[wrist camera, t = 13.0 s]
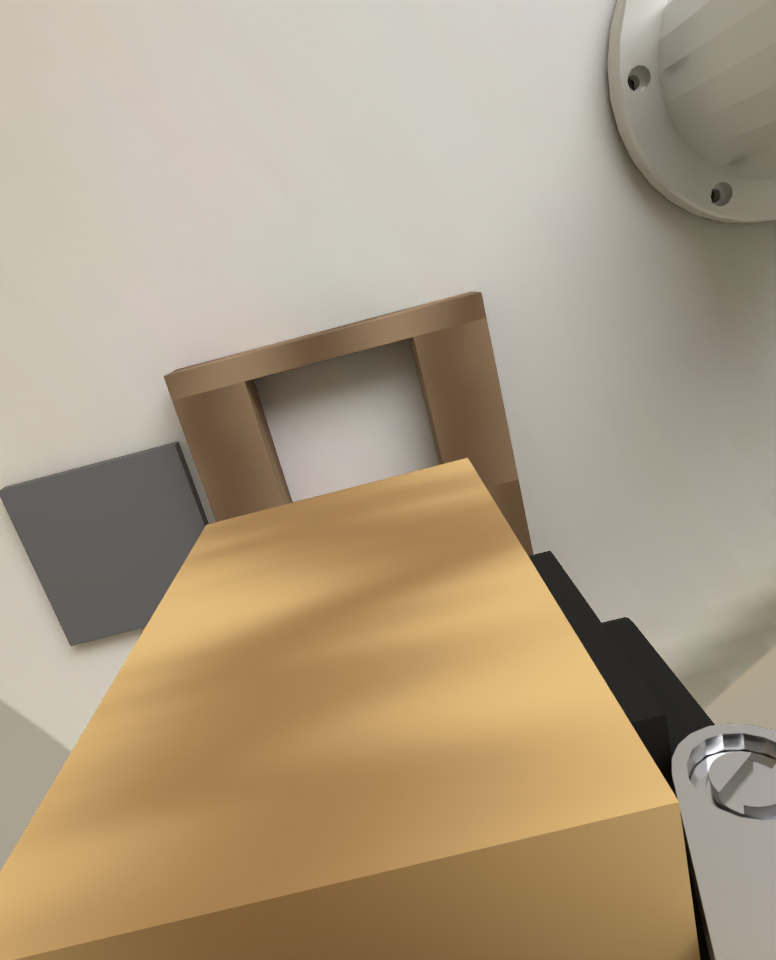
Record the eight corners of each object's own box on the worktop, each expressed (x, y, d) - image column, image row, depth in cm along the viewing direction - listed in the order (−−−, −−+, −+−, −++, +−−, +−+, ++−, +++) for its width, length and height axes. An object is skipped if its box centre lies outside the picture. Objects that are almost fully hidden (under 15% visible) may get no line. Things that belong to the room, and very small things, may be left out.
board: (471, 291, 27) (481, 292, 25) (537, 614, 32) (549, 636, 30) (176, 369, 27) (163, 376, 25) (286, 678, 32) (282, 704, 30)
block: (467, 457, 12) (679, 802, 4) (517, 681, 13) (738, 1233, 6) (206, 525, 12) (-62, 977, 4) (285, 737, 13) (194, 1349, 6)
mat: (178, 441, 28) (174, 444, 27) (235, 597, 30) (233, 604, 30) (4, 487, 28) (-3, 491, 28) (76, 639, 31) (70, 646, 30)
